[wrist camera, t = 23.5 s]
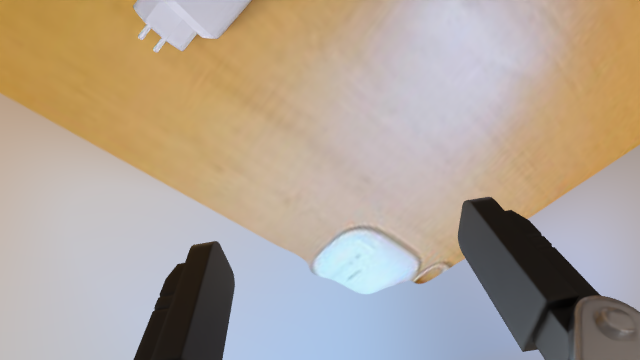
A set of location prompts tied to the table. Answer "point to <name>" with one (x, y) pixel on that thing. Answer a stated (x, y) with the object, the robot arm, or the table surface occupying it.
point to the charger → (187, 19)
